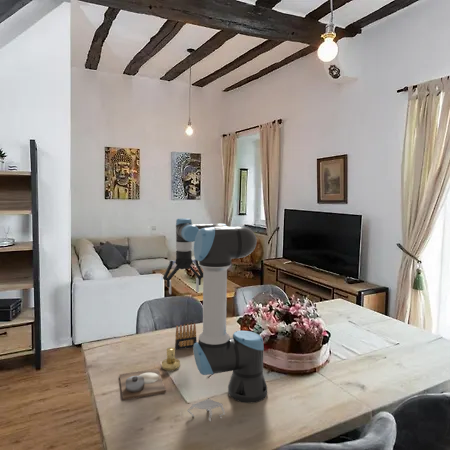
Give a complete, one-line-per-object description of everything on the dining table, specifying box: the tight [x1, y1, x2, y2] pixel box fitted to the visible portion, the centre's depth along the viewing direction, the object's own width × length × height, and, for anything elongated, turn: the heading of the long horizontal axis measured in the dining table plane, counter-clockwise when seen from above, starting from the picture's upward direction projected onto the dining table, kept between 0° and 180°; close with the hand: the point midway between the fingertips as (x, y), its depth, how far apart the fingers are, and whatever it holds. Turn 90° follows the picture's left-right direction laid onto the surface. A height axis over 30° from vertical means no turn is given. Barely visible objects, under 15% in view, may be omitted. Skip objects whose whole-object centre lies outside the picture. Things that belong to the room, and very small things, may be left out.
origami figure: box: [186, 397, 226, 422], centre depth 125 cm, size 12×8×5 cm
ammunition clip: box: [174, 322, 198, 351], centre depth 180 cm, size 11×2×12 cm, turn 110°
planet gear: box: [161, 347, 181, 372], centre depth 160 cm, size 8×8×8 cm
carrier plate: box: [119, 368, 167, 401], centre depth 145 cm, size 18×16×5 cm
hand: (183, 292), depth 179 cm, fingers open, 13 cm apart
